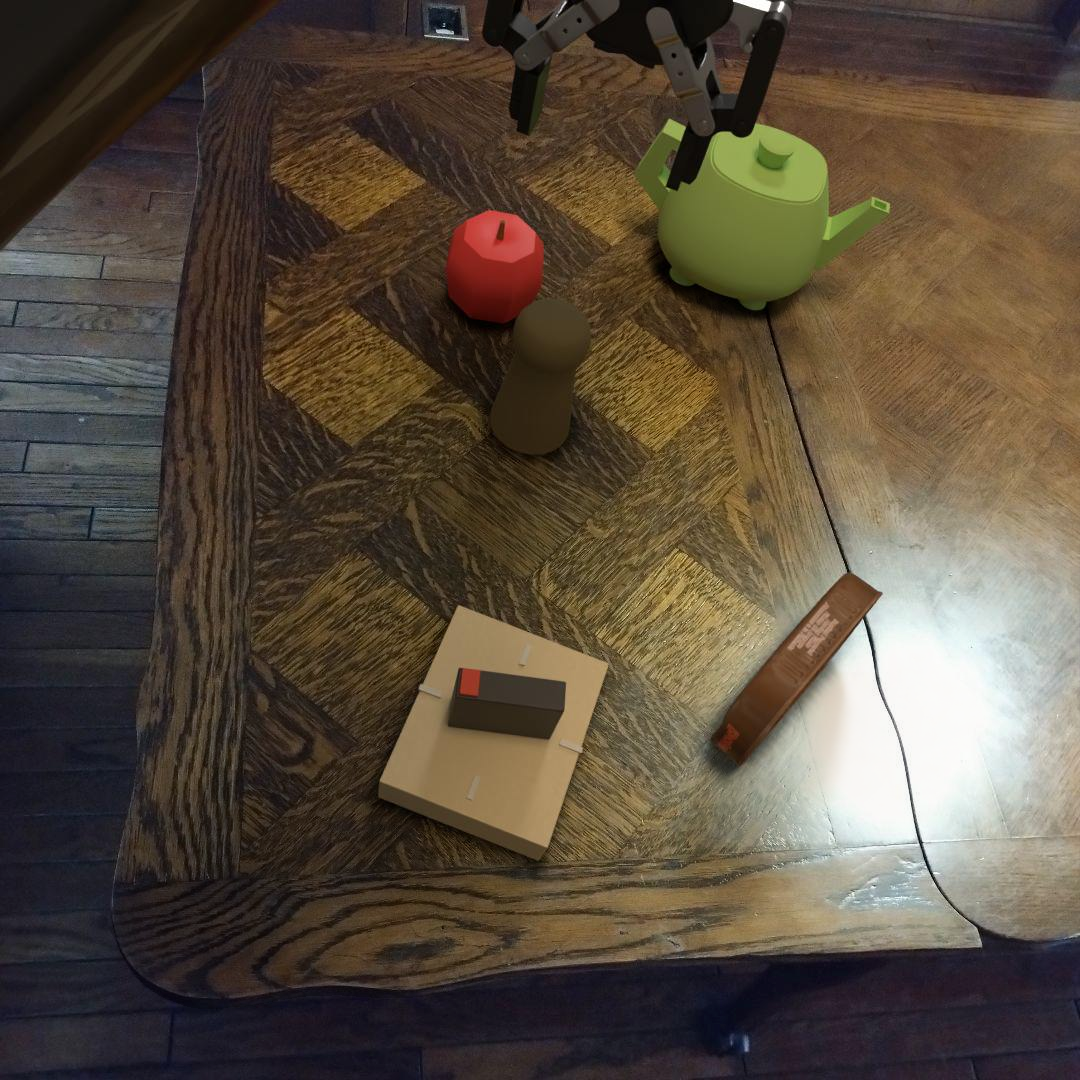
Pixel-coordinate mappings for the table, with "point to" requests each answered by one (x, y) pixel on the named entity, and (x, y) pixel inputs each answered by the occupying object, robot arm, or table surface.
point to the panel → (492, 740)
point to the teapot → (750, 214)
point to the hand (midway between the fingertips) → (600, 153)
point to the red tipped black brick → (506, 703)
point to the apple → (494, 266)
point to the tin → (793, 667)
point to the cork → (541, 377)
